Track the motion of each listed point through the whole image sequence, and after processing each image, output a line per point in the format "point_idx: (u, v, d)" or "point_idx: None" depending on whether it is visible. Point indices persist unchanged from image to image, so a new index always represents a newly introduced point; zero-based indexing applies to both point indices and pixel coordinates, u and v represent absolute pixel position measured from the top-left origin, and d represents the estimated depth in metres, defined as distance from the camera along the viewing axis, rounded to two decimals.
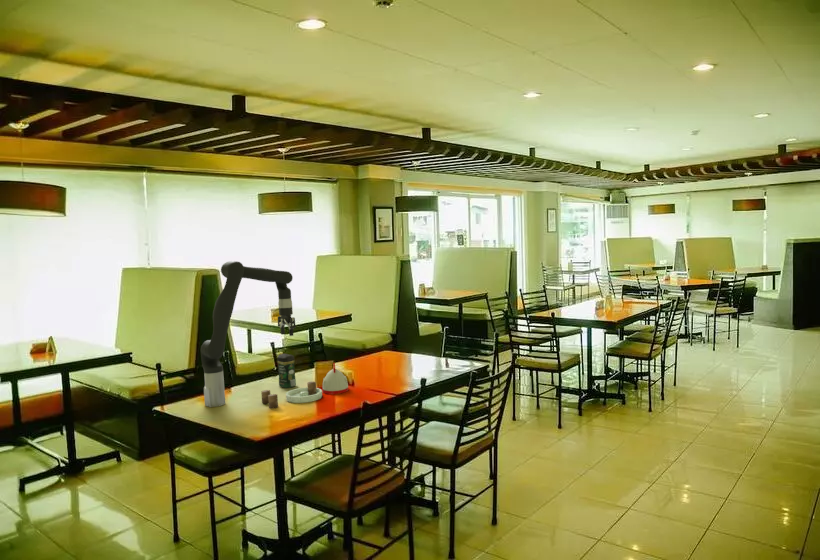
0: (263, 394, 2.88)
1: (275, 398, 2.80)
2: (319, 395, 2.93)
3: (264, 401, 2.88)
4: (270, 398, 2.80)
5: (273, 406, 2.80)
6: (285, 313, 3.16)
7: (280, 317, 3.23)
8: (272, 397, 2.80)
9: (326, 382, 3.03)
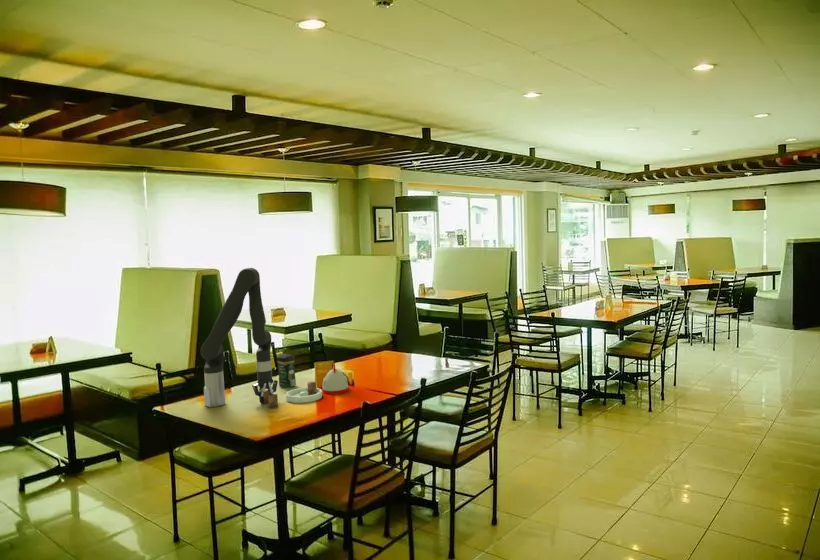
0: (263, 394, 2.88)
1: (275, 398, 2.80)
2: (319, 395, 2.93)
3: (264, 401, 2.88)
4: (270, 398, 2.80)
5: (273, 406, 2.80)
6: None
7: (256, 385, 2.86)
8: (272, 397, 2.80)
9: (326, 382, 3.03)
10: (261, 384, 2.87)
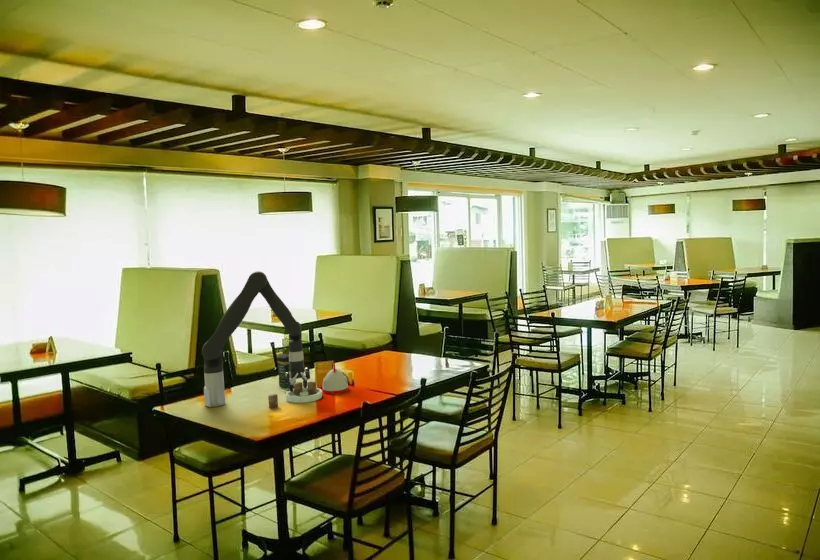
0: (296, 386, 2.97)
1: (275, 398, 2.80)
2: (319, 395, 2.93)
3: (297, 393, 2.98)
4: (270, 398, 2.80)
5: (273, 406, 2.80)
6: None
7: (289, 373, 2.95)
8: (272, 397, 2.80)
9: (326, 382, 3.03)
10: (294, 372, 2.96)
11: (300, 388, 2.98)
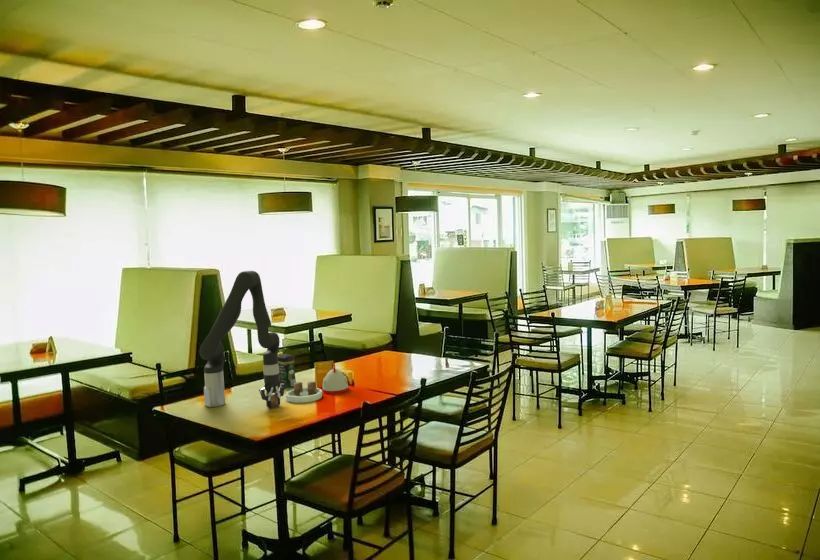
0: (296, 386, 2.97)
1: (275, 398, 2.80)
2: (319, 395, 2.93)
3: (297, 393, 2.98)
4: (270, 398, 2.80)
5: (273, 406, 2.80)
6: (279, 378, 2.82)
7: (263, 389, 2.77)
8: (272, 397, 2.79)
9: (326, 382, 3.03)
10: (268, 388, 2.79)
11: (300, 388, 2.98)
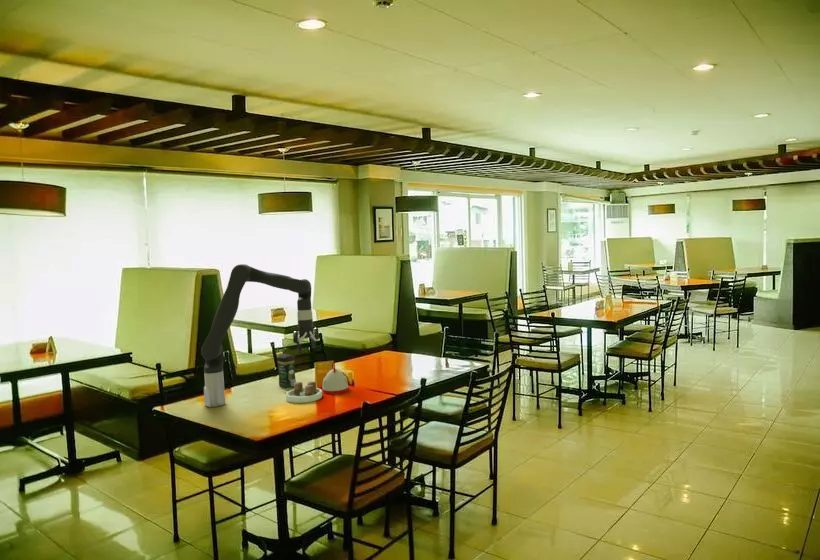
0: (296, 386, 2.97)
1: (311, 389, 2.91)
2: (319, 395, 2.93)
3: (296, 393, 2.98)
4: (307, 389, 2.90)
5: None
6: (312, 324, 2.90)
7: (297, 332, 2.86)
8: (309, 388, 2.90)
9: (326, 382, 3.03)
10: (302, 332, 2.87)
11: (300, 388, 2.98)
